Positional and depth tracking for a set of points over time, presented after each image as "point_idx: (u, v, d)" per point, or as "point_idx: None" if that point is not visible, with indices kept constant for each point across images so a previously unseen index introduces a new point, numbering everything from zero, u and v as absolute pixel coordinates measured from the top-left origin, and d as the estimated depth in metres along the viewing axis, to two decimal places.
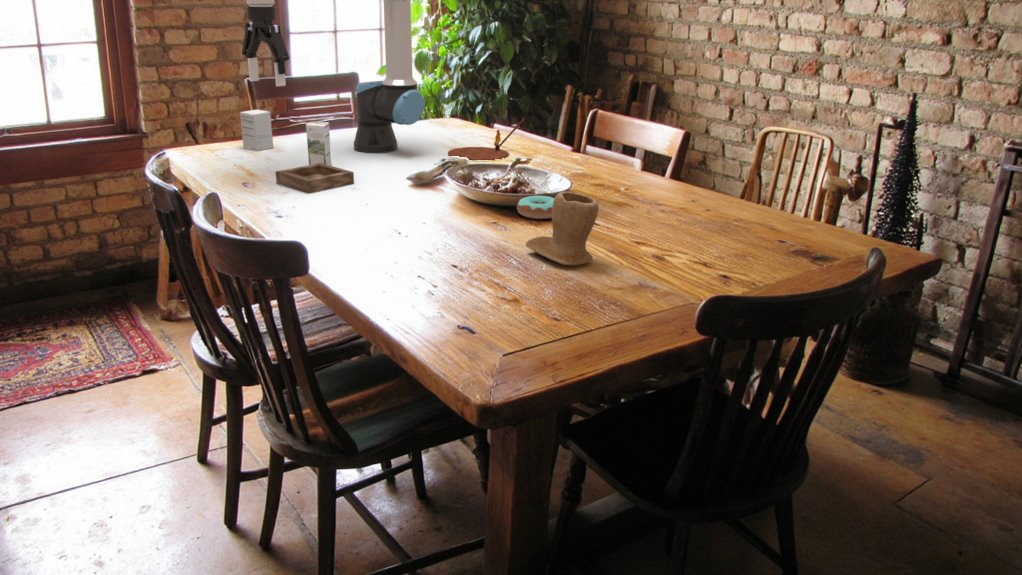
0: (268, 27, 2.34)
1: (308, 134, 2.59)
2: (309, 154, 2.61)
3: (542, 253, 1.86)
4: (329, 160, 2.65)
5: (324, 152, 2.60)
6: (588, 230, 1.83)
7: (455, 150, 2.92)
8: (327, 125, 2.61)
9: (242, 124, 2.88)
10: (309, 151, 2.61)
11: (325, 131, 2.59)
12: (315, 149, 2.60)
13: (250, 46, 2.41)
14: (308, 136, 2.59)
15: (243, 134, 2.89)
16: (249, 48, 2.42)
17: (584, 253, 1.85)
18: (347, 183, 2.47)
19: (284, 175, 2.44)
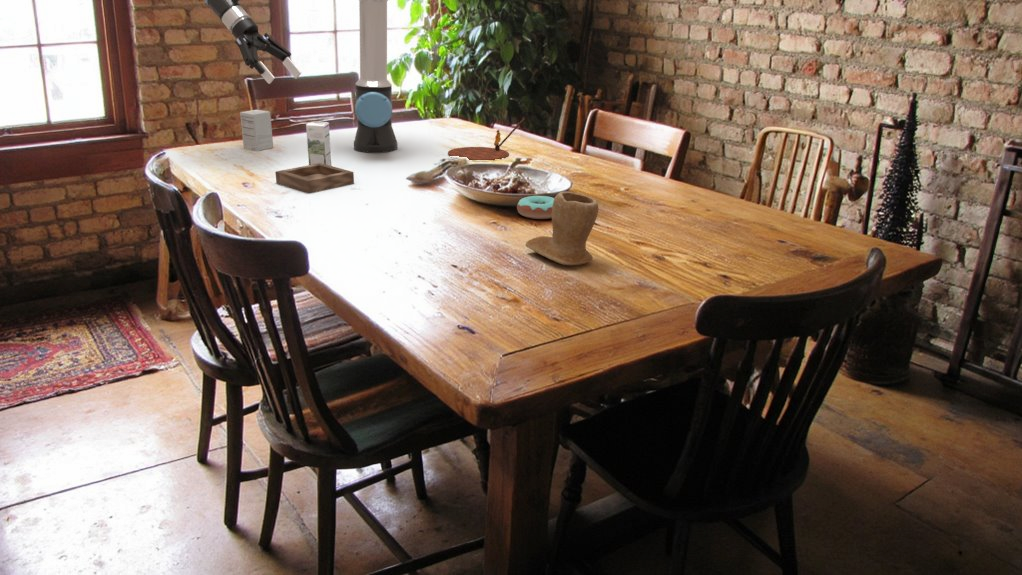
0: None
1: (308, 134, 2.59)
2: (309, 154, 2.61)
3: (542, 253, 1.86)
4: (329, 160, 2.65)
5: (324, 152, 2.60)
6: (588, 230, 1.83)
7: (455, 150, 2.92)
8: (327, 125, 2.61)
9: (242, 124, 2.88)
10: (309, 151, 2.61)
11: (325, 131, 2.59)
12: (315, 149, 2.60)
13: None
14: (308, 136, 2.59)
15: (243, 134, 2.89)
16: None
17: (584, 253, 1.85)
18: (347, 183, 2.47)
19: (284, 175, 2.44)
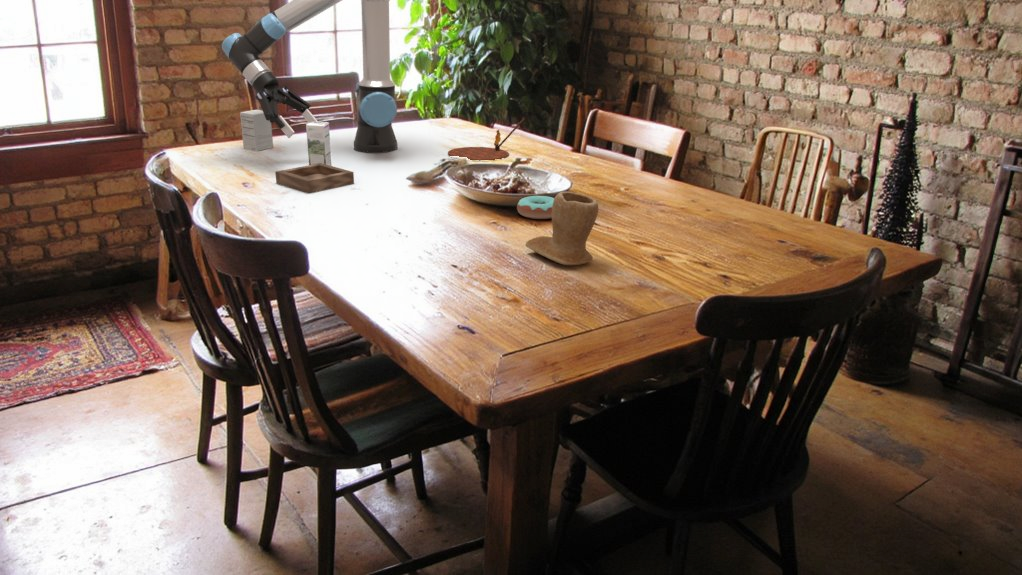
0: None
1: (308, 134, 2.59)
2: (309, 154, 2.61)
3: (542, 253, 1.86)
4: (329, 160, 2.65)
5: (324, 152, 2.60)
6: (588, 230, 1.83)
7: (455, 150, 2.92)
8: (327, 125, 2.61)
9: (242, 124, 2.88)
10: (309, 151, 2.61)
11: (325, 131, 2.59)
12: (315, 149, 2.60)
13: None
14: (308, 136, 2.59)
15: (243, 134, 2.89)
16: None
17: (584, 253, 1.85)
18: (347, 183, 2.47)
19: (284, 175, 2.44)
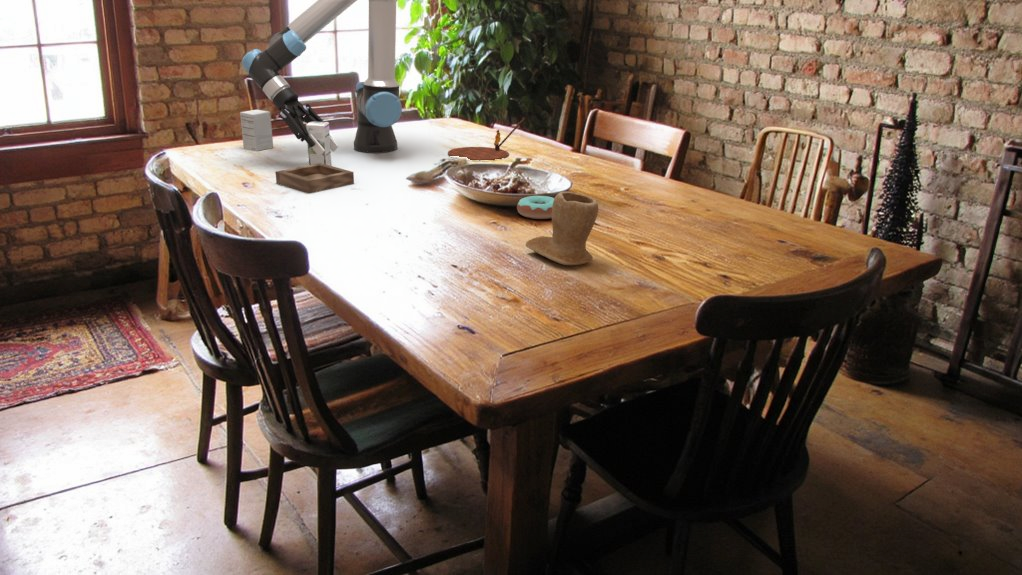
0: None
1: None
2: (309, 154, 2.61)
3: (542, 253, 1.86)
4: (329, 160, 2.65)
5: (324, 152, 2.60)
6: (588, 230, 1.83)
7: (455, 150, 2.92)
8: (327, 125, 2.61)
9: (242, 124, 2.88)
10: (309, 151, 2.61)
11: (325, 131, 2.59)
12: None
13: None
14: None
15: (243, 134, 2.89)
16: None
17: (584, 253, 1.85)
18: (347, 183, 2.47)
19: (284, 175, 2.44)
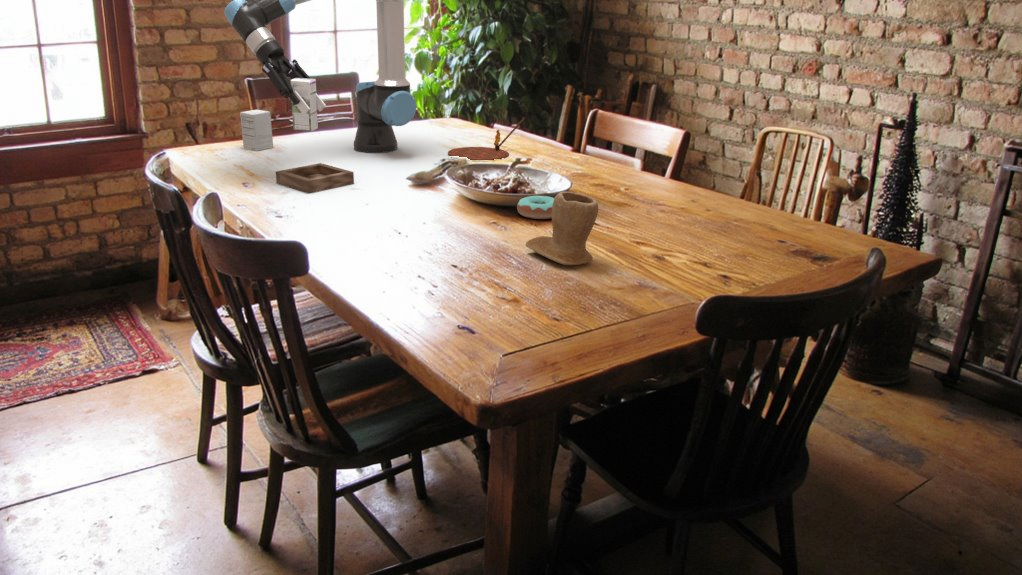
0: None
1: None
2: (293, 112, 2.43)
3: (542, 253, 1.86)
4: (315, 120, 2.46)
5: (309, 110, 2.42)
6: (588, 230, 1.83)
7: (455, 150, 2.92)
8: (313, 82, 2.42)
9: (242, 124, 2.88)
10: (293, 109, 2.42)
11: (311, 88, 2.41)
12: None
13: None
14: None
15: (243, 134, 2.89)
16: None
17: (584, 253, 1.85)
18: (347, 183, 2.47)
19: (284, 175, 2.44)
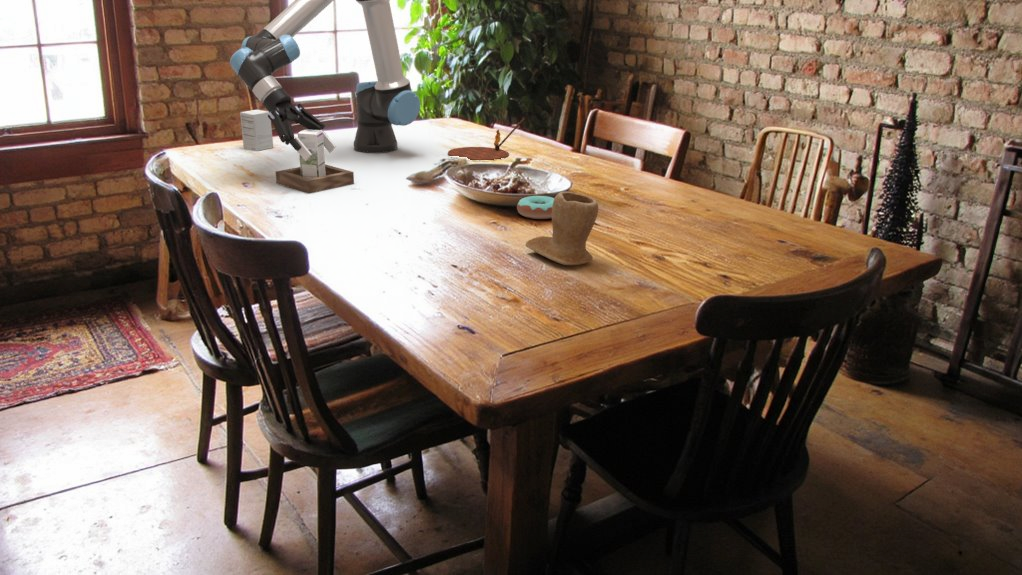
0: None
1: None
2: (301, 164, 2.43)
3: (542, 253, 1.86)
4: (323, 171, 2.47)
5: (317, 162, 2.42)
6: (588, 230, 1.83)
7: (455, 150, 2.92)
8: (321, 133, 2.43)
9: (242, 124, 2.88)
10: (301, 161, 2.43)
11: (318, 140, 2.41)
12: (308, 159, 2.42)
13: None
14: None
15: (243, 134, 2.89)
16: None
17: (584, 253, 1.85)
18: (347, 183, 2.47)
19: (284, 175, 2.44)
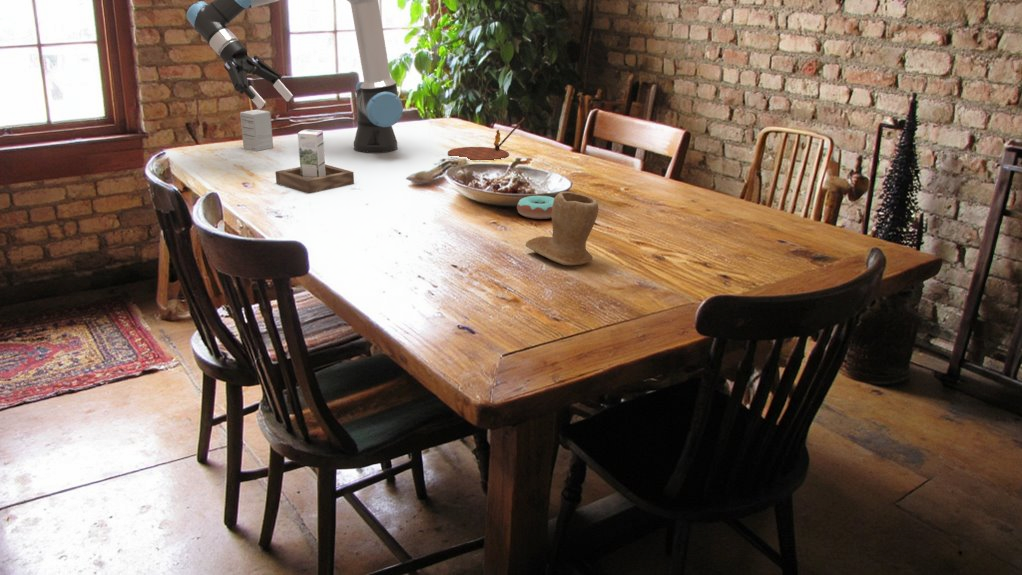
0: None
1: (300, 143, 2.41)
2: (301, 164, 2.43)
3: (542, 253, 1.86)
4: (323, 171, 2.47)
5: (317, 162, 2.42)
6: (588, 230, 1.83)
7: (455, 150, 2.92)
8: (321, 133, 2.43)
9: (242, 124, 2.88)
10: (301, 161, 2.43)
11: (318, 140, 2.41)
12: (308, 159, 2.42)
13: None
14: (299, 146, 2.41)
15: (243, 134, 2.89)
16: None
17: (584, 253, 1.85)
18: (347, 183, 2.47)
19: (284, 175, 2.44)
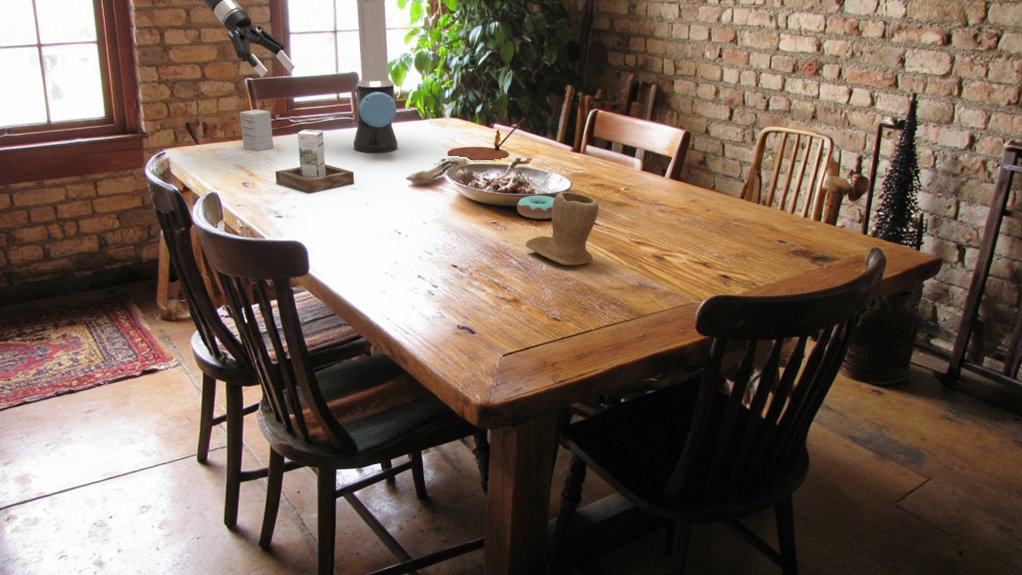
0: None
1: (300, 143, 2.41)
2: (301, 164, 2.43)
3: (542, 253, 1.86)
4: (323, 171, 2.47)
5: (317, 162, 2.42)
6: (588, 230, 1.83)
7: (455, 150, 2.92)
8: (321, 133, 2.43)
9: (242, 124, 2.88)
10: (301, 161, 2.43)
11: (318, 140, 2.41)
12: (308, 159, 2.42)
13: None
14: (299, 146, 2.41)
15: (243, 134, 2.89)
16: None
17: (584, 253, 1.85)
18: (347, 183, 2.47)
19: (284, 175, 2.44)
